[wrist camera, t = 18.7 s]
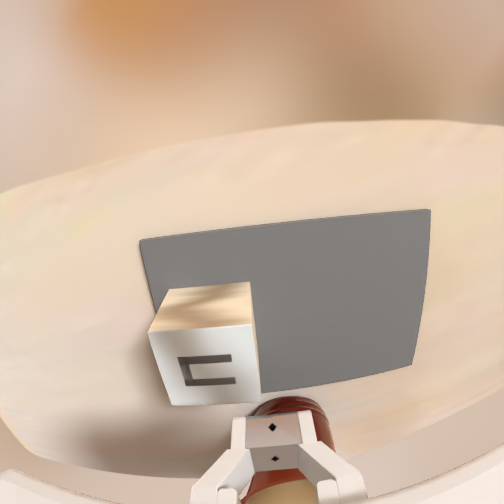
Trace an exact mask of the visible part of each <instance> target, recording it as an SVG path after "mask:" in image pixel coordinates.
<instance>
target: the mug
mask: <svg viewBox="0 0 504 504" xmlns="http://www.w3.org/2000/svg"><path fill="white" fill-rule="evenodd" d="M307 410H310V411H311V413H312V418H313V423H314V428H315V433H316V438H317V441H322V442H323V443H324V444H325V445H326V446H328V447H329V448H330V449H331V450H333V451H334V452H335V447H334V442H333V438H332V434H331V431H330V427H329V421H328V419H327V418H326V415H325V413H324V411H323V410H322V409H321V407H320V406H319V404H318V403H316V402H315V401H313V400H311V399H309V398H305V397H300V396H288V397H282V398H278V399H275V400H272V401H270V402H268V403H266V404H264V405H263V406H262V407H260V408H259V409H258V410H257V412H256V413H255V415H254V416H264V415H273V414H282V413H290V412H299V411H307ZM335 453H336V452H335ZM315 493H316V487H315V486H314V485H313V484H312V483H311V482H310V481H309V480H308V479H307V478H306V477H305V476H304V474H303V473H302V472H301V471H300V470H299V469H298V468H293V469H281V470H277V469H276V470H270V471H259V472H255V474H254V475H253V477H252V480H251V484H250V487H249V489H248V492H247V495H246V496H245V497H244V498H243V499H242V500H240V501H241V504H314V500H315Z"/></svg>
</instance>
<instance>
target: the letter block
mask: <svg viewBox="0 0 504 504" xmlns="http://www.w3.org/2000/svg"><path fill="white" fill-rule="evenodd" d="M147 334H148V337H149V340H150V344H151V347H152V350H153V353H154V356H155V359H156V362H157V365H158V368H159V371H160V374H161V377H162V379H163V382H164V385H165V388H166V390H167V393H168V396H169V398H170V401H171V404H172V405H216V404H235V403H248V402H260V401H262V400H261V387H260V373H259V359H258V347H257V339H256V330H255V321H254V313H253V304H252V296H251V287H250V282H241V283H231V284H221V285H211V286H200V287H189V288H178V289H169V290H168V292H167V294H166V296H165V298H164V300H163V302H162V304H161V306H160V308H159V310H158V312H157V314H156V316H155V318H154V320H153V322H152V324H151V326H150V328H149V330H148V332H147Z"/></svg>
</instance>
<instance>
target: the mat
mask: <svg viewBox="0 0 504 504" xmlns="http://www.w3.org/2000/svg"><path fill="white" fill-rule="evenodd" d="M430 221H431V210H429V209H420V210H407V211H395V212H383V213H371V214H360V215H349V216H339V217H328V218H318V219H308V220H299V221H289V222H280V223H271V224H262V225H253V226H244V227H236V228H227V229H219V230H211V231H203V232H195V233H187V234H179V235H171V236H164V237H156V238H149V239H142V240H140V241H139V242H140V247H141V252H142V256H143V261H144V265H145V269H146V274H147V278H148V282H149V286H150V290H151V294H152V298H153V302H154V306H155V309H156V313H157V312H158V310H159V308H160V306H161V304H162V302H163V300H164V298H165V296H166V294H167V292H168V290H169V289H178V288H189V287H200V286H211V285H221V284H231V283H241V282H250V287H251V296H252V304H253V313H254V321H255V330H256V339H257V347H258V359H259V373H260V387H261V393H266V392H274V391H283V390H290V389H298V388H304V387H311V386H317V385H323V384H329V383H334V382H340V381H345V380H350V379H355V378H360V377H364V376H369V375H373V374H377V373H382V372H386V371H390V370H394V369H398V368H401V367H405V366H409V365H412V362H413V357H414V353H415V348H416V343H417V338H418V332H419V327H420V321H421V315H422V308H423V301H424V294H425V286H426V277H427V267H428V256H429V242H430Z"/></svg>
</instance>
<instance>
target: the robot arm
mask: <svg viewBox="0 0 504 504" xmlns="http://www.w3.org/2000/svg"><path fill="white" fill-rule="evenodd" d="M293 468H298V469H299V470H300V471H301V472H302V473H303V474H304V476H305V477H306V478H307V479H308V480H309V481H310V482H311V483H312V484H313V485H314V486H315V487H316V493H315V500H314V504H504V443H503V444H501V445H499V446H498V447H496V448H494V449H492V450H490V451H489V452H487V453H485V454H483V455H482V456H479V457H477V458H475V459H473V460H472V461H470V462H467V463H465V464H463V465H461V466H459V467H457V468H454V469H452V470H450V471H448V472H446V473H443V474H441V475H438V476H436V477H433V478H431V479H428V480H426V481H423V482H420V483H417V484H415V485H412V486H409V487H406V488H403V489H400V490H397V491H393V492H390V493H387V494H383V495H380V496H376V497H372V498H368V496H367V493H366V489H365V485H364V482H363V479H362V475H361V472H360V471H358V470H357V469H356V468H354V467H353V466H352V465H350V464H349V463H348V462H347V461H345V460H344V459H343V458H341V457H340V456H339V455H338V454H336V453H335V452H334V451H333V450H331V449H330V448H329V447H328V446H326V445H325V444H324V443H323V442H322V441H317V438H316V433H315V428H314V423H313V418H312V413H311V411H310V410H307V411H299V412H290V413H282V414H273V415H264V416H245V417H233V419H232V430H231V447H230V449H227V450H226V451H225V452H224V453H223V454H222V455H221V456H220V457H219V458H218V460H217V461H216V462H215V463H214V464H213V465H212V466H211V467H210V468H209V469H208V470H207V471H206V473H205V474H204V475H203V476H202V477H201V478H200V479H199V480H198V481H197V482H196V483H195V484H194V485H193V486H192V489H191V496H190V503H189V504H241V501H240V499H239V495H240V494H241V492H242V491H243V490H244V488H245V487H246V485H247V484H248V482H249V481H250V479H251V478H252V477H253V475H254V474H255V472H259V471H270V470H276V469H277V470H281V469H293ZM0 504H119V503H114V502H110V501H106V500H102V499H98V498H95V497H91V496H87V495H84V494H80V493H77V492H74V491H71V490H68V489H65V488H61V487H59V486H56V485H53V484H50V483H48V482H45V481H42V480H40V479H37V478H35V477H32V476H30V475H28V474H25V473H23V472H21V471H19V470H16V469H12V468H11V469H7V470H4V471H2V472H0Z"/></svg>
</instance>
